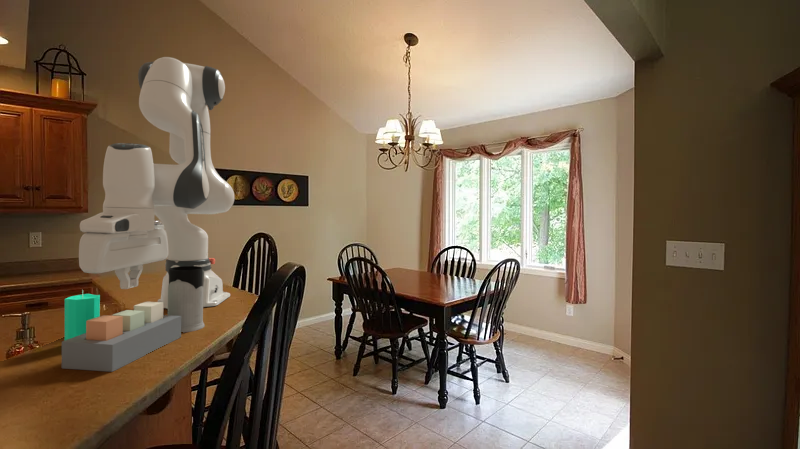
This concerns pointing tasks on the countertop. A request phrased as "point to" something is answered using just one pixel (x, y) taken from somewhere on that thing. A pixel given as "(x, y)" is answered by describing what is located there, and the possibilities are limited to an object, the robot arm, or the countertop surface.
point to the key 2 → (150, 311)
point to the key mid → (131, 319)
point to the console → (119, 346)
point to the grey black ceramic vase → (186, 296)
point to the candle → (80, 313)
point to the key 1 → (104, 327)
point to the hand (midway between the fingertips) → (129, 287)
